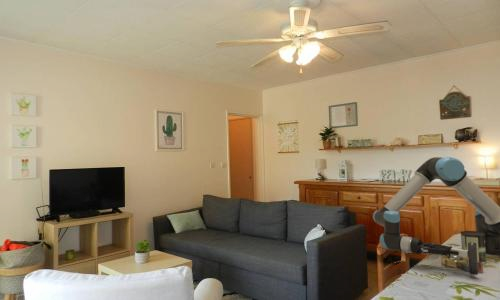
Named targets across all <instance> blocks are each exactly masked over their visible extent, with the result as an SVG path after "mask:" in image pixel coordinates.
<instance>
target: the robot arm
mask: <svg viewBox="0 0 500 300" xmlns="http://www.w3.org/2000/svg"><path fill="white" fill-rule="evenodd" d="M467 175H468V172H467V170H466V169H465V165H464V164H463V162H462V161H461V160H459V158H456V157H451V156H445V157H444V156H443V157H441V156H436V157H431V158H429V159H427V160H426V161H424V162H423V163H422V164H421V165H420V166H418V168H417V169H416V170H415V171H414V175H413V176H412V177H411V178H410V179H409V180H408V181H407V182H406V183H405V184H404V185H403V187H401V188H400V189H399V190H398V192H396V194H394V196H392V197H391V198H390V200H389V201H387V203H386V204H385V205H383V207H382V208H380V210H379V209H377V210H375V211H374V212H373V213H372V219H373V221H374V222H375V223H376V224H377V225H378V226H382V227H384V231H383V232H384V233H381V235H380V236H379V243H380V242H381V241H382V242H381V245H382V247H381V248H382V249H386V250H392V251H397V252H398V251H399V252H404V253H406V254H408V253H410V254H415V255H421V254H430V255H439V256H442V255H445V256H447V255H448V257H450V255H454V256H460V257H466V258H468V251H467V250H462V248H453V246H452V245H451V246H450V245H449V246H448V245H443V244H439V243H435V242H431V243H430V242H423V239H421V238H417V237H412V236H404V235H401V217H400V212H401V210H403V208H404V207H405V206H406V205H407V204H408V203H409V202H411V200H413V198H414V197H415V196H416V195H417V194H418V193H419V192H420V191H421V190H422V189H423V188H425V186H426V185H430V184H431V183H432V182H433V181H435V180H439V181H441V182H442V183H443V184H444V185H445V186H446V187H447V188H453V190H455V191H456V192H457V193H458V194H460V196H462V198H464V200H465V201H467V202H468V204H470V205H471V206H472V207H473V208H474V209H475V211H474V222H475V223H474V224H475V231H477V232H482V233H484V234H485V251H486V255H487V254H489V255H500V206H499V204H497V203H496V202H495V201H494V200H492V198H491V197H490V196H489V195H488V194H487V193H485V192H484V191H483V190H482V189H481V188H480V187H479V186H478V185H477V184H476V183H475V182H474V181H473V180H471V178H469V177H468V176H467ZM381 245H380V246H381Z"/></svg>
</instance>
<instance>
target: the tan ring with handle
mask: <svg viewBox="0 0 500 300" xmlns="http://www.w3.org/2000/svg"><path fill="white" fill-rule="evenodd" d="M440 257H441V263H443V264H444V265H447V266H452V267H460V268H462V269H464V270H466V271H467V272H469V273H470V274H473V275H474V276H476V275H477V276H478V275H479V273H478V263H477V244H476V243H474V242H468V258H466V257H461V260H455V258H450V257H448V255H447V256H445V255H440Z"/></svg>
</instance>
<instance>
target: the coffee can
mask: <svg viewBox="0 0 500 300" xmlns="http://www.w3.org/2000/svg"><path fill="white" fill-rule="evenodd" d="M460 240H461V241H460V242H461V250H467V251H468V242H474V243H476V244H477V261H479V262H483V265H484V264H486V263H487V254H486V251H485V234H484V233H482V232H477V231H476V230H462V231H460Z"/></svg>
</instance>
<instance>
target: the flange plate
mask: <svg viewBox="0 0 500 300" xmlns="http://www.w3.org/2000/svg"><path fill="white" fill-rule="evenodd" d="M450 258H455V260H461V257H460V256H454V255H451V254H450ZM477 263H478V274H479V273H480V274H483V273H484V264H483V262H479V261H477ZM428 269H431V270H437V271H442V272H447V273H452V274H457V275H463V276H468V277H474V276H475V275H473V274H470V273H469V272H467V271H466V270H464V269H462V268H460V267H452V266H447V265H444V264H443V263H441V256H439V257H438V258H436V259H435V260H434V261H432V262H431V263H430V264H428Z"/></svg>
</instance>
